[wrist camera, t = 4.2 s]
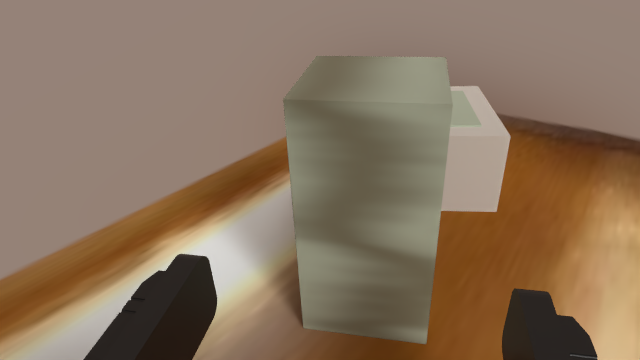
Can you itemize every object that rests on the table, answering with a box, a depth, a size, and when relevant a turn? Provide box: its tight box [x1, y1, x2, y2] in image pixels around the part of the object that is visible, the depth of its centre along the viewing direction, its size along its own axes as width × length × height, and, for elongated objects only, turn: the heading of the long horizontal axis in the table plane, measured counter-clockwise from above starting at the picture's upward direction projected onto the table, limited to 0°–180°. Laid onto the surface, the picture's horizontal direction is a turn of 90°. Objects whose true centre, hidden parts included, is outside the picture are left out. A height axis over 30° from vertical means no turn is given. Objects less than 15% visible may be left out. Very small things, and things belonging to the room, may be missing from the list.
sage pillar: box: [283, 56, 453, 344], centre depth 18 cm, size 5×5×10 cm
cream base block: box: [441, 86, 511, 212], centre depth 28 cm, size 8×8×5 cm
